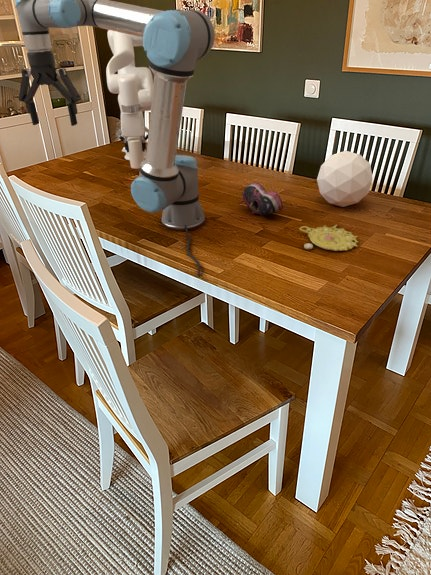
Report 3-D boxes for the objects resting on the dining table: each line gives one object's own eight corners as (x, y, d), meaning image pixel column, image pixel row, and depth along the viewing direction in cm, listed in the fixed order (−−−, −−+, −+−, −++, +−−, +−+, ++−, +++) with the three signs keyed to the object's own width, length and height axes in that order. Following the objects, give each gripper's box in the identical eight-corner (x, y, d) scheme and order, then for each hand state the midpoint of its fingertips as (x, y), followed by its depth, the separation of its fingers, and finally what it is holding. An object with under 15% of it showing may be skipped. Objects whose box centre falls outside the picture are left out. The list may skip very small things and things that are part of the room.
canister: (141, 163, 205) (138, 136, 198) (146, 167, 200) (144, 140, 194) (128, 165, 202) (125, 138, 196) (133, 169, 198) (130, 142, 191)
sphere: (348, 225, 166) (362, 196, 147) (303, 198, 170) (311, 167, 152) (373, 189, 171) (391, 157, 152) (328, 164, 175) (340, 130, 156)
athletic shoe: (254, 181, 170) (227, 189, 167) (283, 176, 151) (253, 185, 147) (260, 210, 173) (234, 218, 170) (290, 209, 154) (261, 219, 150)
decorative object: (343, 255, 128) (285, 234, 139) (342, 262, 130) (284, 241, 140) (372, 230, 142) (317, 213, 152) (371, 237, 143) (316, 219, 153)
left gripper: (151, 106, 191) (155, 147, 201) (111, 107, 190) (117, 149, 200) (150, 109, 185) (155, 152, 195) (109, 111, 184) (115, 154, 194)
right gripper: (83, 49, 133) (95, 122, 145) (9, 50, 138) (26, 121, 149) (72, 51, 127) (85, 127, 139) (-6, 52, 132) (14, 126, 143)
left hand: (135, 150), depth 197 cm, fingers closed on canister, 6 cm apart
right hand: (55, 124), depth 144 cm, fingers open, 13 cm apart
